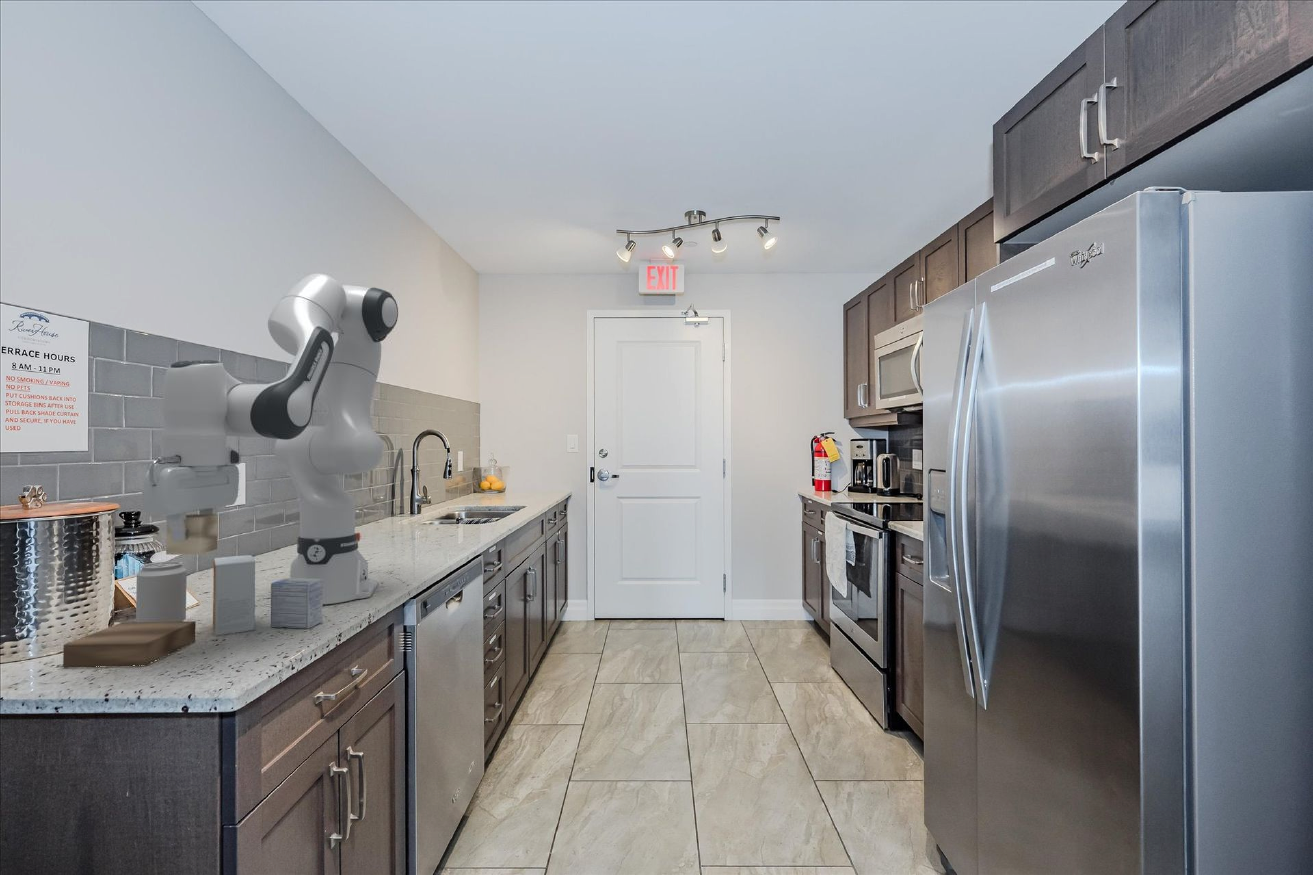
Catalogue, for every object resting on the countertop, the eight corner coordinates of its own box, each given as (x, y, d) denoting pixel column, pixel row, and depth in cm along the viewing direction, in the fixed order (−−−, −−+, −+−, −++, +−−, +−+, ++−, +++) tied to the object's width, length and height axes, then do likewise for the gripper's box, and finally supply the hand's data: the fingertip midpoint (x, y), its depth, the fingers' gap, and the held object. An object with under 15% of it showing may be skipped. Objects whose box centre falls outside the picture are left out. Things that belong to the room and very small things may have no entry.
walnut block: (121, 645, 108) (122, 622, 108) (195, 644, 109) (195, 621, 109) (63, 670, 96) (63, 645, 96) (146, 668, 97) (146, 643, 97)
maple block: (185, 549, 106) (186, 514, 106) (217, 549, 106) (217, 514, 106) (166, 554, 101) (166, 517, 101) (199, 554, 101) (200, 517, 101)
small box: (212, 625, 119) (213, 557, 119) (251, 620, 123) (252, 554, 123) (213, 636, 112) (214, 564, 112) (255, 630, 116) (256, 560, 116)
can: (162, 632, 114) (164, 567, 114) (124, 631, 114) (125, 566, 115) (195, 621, 121) (196, 560, 122) (159, 620, 122) (160, 559, 122)
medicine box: (323, 622, 121) (324, 578, 121) (308, 629, 117) (309, 583, 117) (285, 621, 122) (286, 577, 122) (269, 628, 118) (270, 582, 118)
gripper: (174, 456, 94) (172, 548, 94) (246, 454, 114) (245, 529, 114) (128, 456, 93) (126, 548, 93) (209, 454, 113) (208, 529, 113)
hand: (192, 537), depth 104 cm, fingers closed on maple block, 5 cm apart
